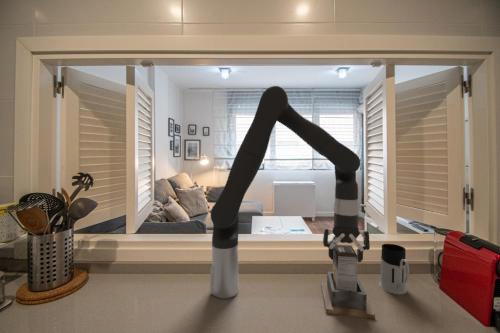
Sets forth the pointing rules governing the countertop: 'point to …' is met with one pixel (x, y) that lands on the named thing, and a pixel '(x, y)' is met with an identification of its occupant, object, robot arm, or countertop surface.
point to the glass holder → (393, 269)
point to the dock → (346, 300)
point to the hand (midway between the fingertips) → (345, 260)
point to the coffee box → (344, 268)
